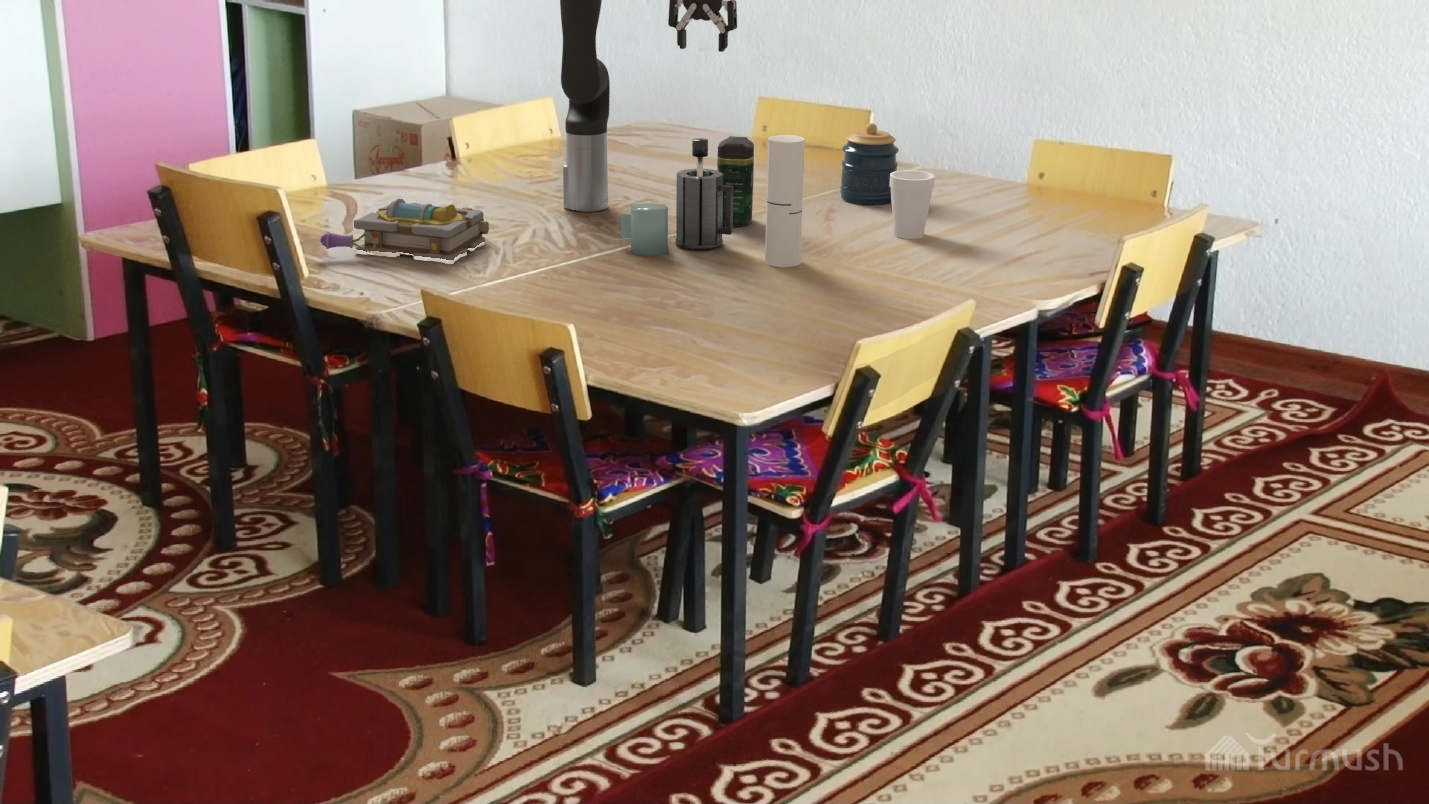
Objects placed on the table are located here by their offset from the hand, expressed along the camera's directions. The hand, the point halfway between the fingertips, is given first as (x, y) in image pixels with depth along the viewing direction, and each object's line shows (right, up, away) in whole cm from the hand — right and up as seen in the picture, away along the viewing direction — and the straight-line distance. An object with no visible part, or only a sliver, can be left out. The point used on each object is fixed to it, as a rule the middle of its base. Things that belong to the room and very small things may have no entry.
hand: (702, 49), depth 326 cm
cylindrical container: (+16, -45, -9) cm, 49 cm away
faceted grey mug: (0, -40, +2) cm, 40 cm away
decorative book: (-60, -42, -4) cm, 74 cm away
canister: (+38, -26, +41) cm, 62 cm away
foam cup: (+44, -37, +11) cm, 59 cm away
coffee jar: (+7, -34, +19) cm, 39 cm away
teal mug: (-12, -42, -2) cm, 43 cm away
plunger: (-1, -36, 0) cm, 36 cm away
